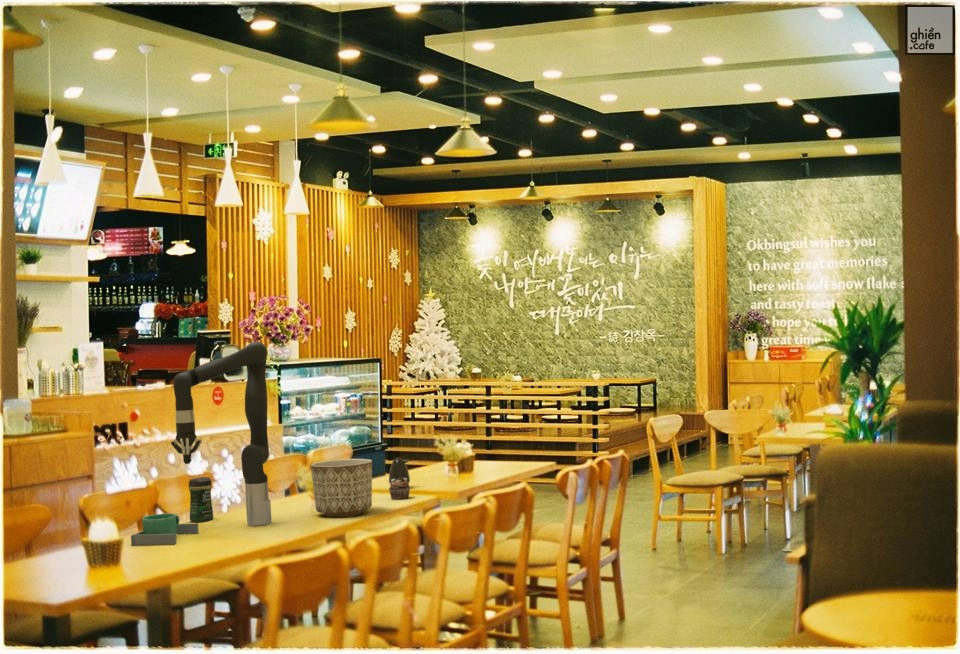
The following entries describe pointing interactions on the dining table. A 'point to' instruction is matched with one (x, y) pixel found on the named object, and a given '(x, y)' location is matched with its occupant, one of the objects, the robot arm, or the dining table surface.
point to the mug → (160, 524)
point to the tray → (163, 536)
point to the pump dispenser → (399, 469)
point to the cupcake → (399, 488)
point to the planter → (342, 486)
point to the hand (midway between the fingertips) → (187, 463)
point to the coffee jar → (200, 499)
